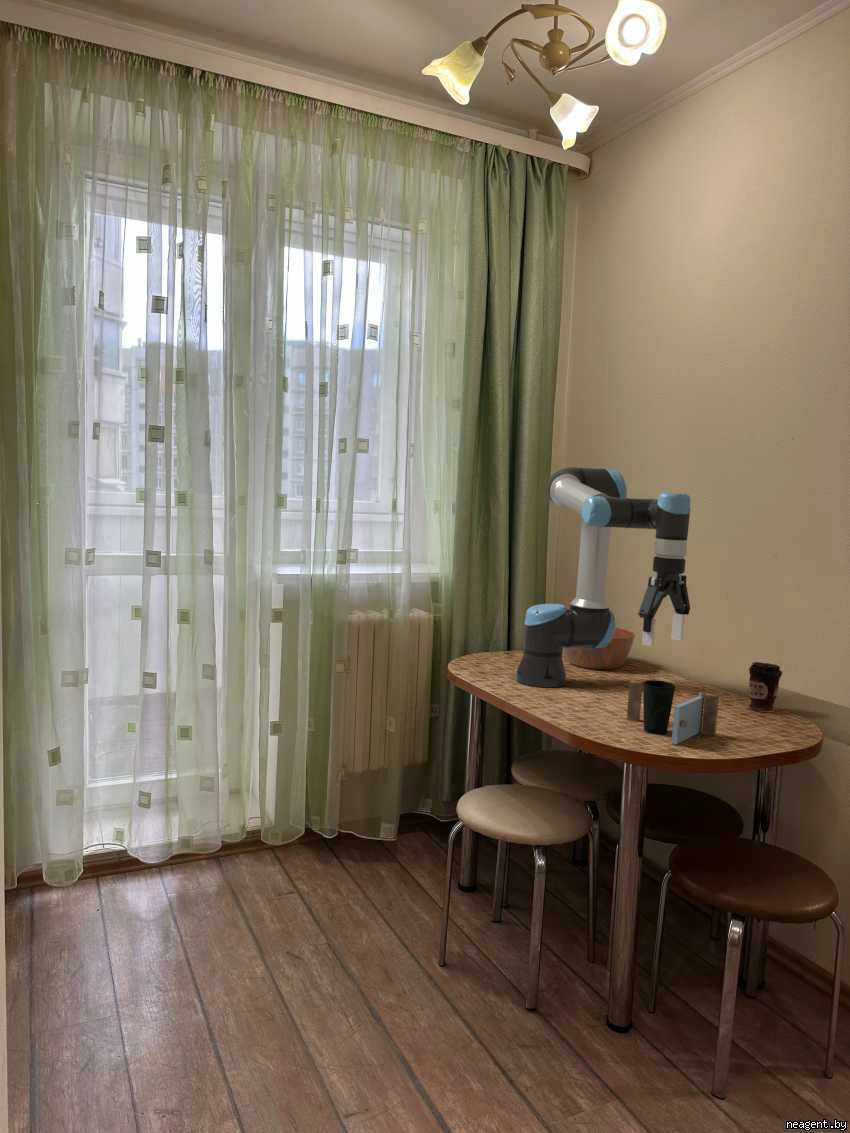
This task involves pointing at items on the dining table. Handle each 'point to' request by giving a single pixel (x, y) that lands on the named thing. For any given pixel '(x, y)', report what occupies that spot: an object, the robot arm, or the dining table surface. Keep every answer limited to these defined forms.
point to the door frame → (708, 713)
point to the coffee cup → (763, 686)
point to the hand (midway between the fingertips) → (662, 642)
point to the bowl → (603, 652)
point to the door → (688, 719)
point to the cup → (657, 705)
